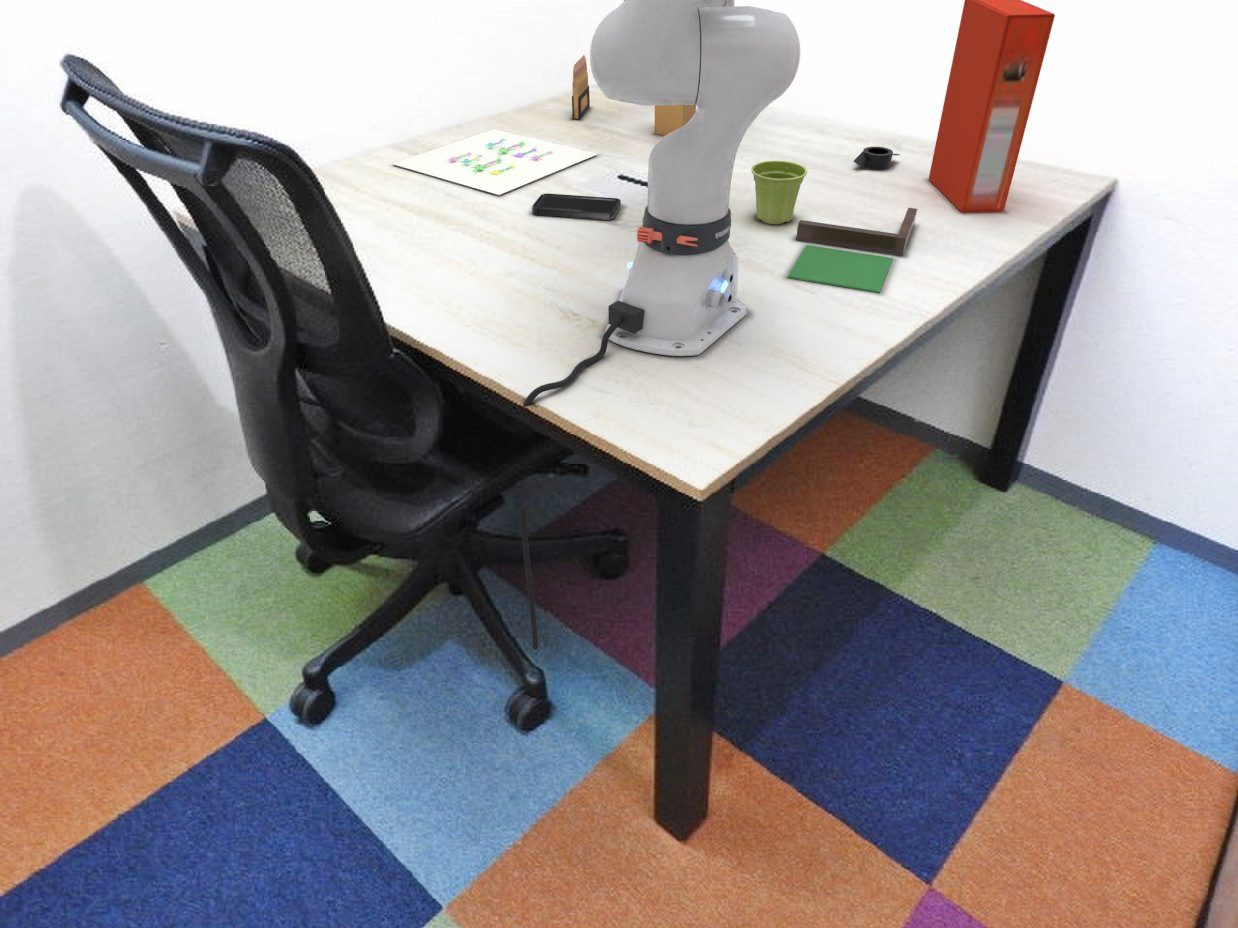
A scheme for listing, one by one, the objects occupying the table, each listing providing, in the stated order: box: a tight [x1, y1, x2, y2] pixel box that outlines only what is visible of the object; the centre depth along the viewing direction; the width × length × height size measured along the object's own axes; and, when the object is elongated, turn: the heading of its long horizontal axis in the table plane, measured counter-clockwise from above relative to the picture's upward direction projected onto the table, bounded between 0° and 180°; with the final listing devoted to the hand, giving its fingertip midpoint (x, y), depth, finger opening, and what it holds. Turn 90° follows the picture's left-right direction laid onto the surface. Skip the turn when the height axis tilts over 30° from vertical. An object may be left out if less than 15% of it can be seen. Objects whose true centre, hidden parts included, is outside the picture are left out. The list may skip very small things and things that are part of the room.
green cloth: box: [787, 244, 893, 294], centre depth 136 cm, size 13×14×1 cm
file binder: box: [928, 0, 1056, 214], centre depth 152 cm, size 8×17×32 cm, turn 3°
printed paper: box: [392, 128, 598, 196], centre depth 178 cm, size 30×30×2 cm
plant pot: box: [751, 160, 808, 225], centre depth 151 cm, size 9×9×9 cm
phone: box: [531, 192, 622, 221], centre depth 156 cm, size 8×1×15 cm
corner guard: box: [795, 207, 918, 257], centre depth 147 cm, size 14×18×3 cm
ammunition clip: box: [571, 54, 591, 121], centre depth 203 cm, size 11×2×12 cm, turn 169°
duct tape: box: [853, 146, 901, 171], centre depth 175 cm, size 8×10×3 cm
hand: (696, 69), depth 145 cm, fingers open, 5 cm apart
